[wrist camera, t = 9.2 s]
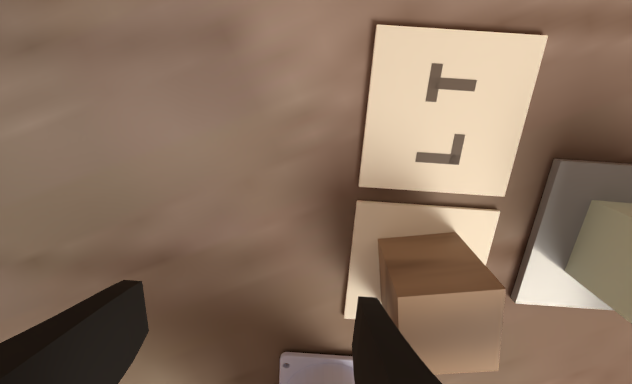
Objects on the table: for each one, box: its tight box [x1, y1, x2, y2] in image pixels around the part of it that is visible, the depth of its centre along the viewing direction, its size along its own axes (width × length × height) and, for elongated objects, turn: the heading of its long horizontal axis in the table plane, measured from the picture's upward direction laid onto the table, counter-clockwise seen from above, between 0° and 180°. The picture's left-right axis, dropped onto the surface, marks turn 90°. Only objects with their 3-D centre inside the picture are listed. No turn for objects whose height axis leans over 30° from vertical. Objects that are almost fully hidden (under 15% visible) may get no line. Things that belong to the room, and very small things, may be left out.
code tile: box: [358, 25, 548, 197], centre depth 18 cm, size 9×9×1 cm
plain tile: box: [344, 200, 500, 319], centre depth 22 cm, size 9×9×1 cm
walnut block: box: [378, 232, 506, 375], centre depth 19 cm, size 5×5×6 cm
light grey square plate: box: [511, 159, 632, 310], centre depth 20 cm, size 10×10×1 cm
